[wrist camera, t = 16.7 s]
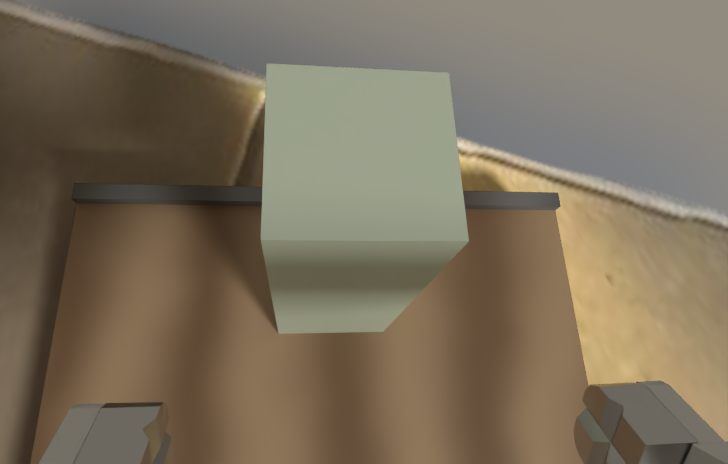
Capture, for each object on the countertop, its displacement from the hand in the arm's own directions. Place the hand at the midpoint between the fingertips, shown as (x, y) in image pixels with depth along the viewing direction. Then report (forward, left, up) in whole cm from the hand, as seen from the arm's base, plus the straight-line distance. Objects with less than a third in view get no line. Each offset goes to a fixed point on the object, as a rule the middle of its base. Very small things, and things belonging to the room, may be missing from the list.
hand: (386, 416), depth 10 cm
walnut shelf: (-2, +2, -17) cm, 17 cm away
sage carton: (-4, +5, -14) cm, 15 cm away
